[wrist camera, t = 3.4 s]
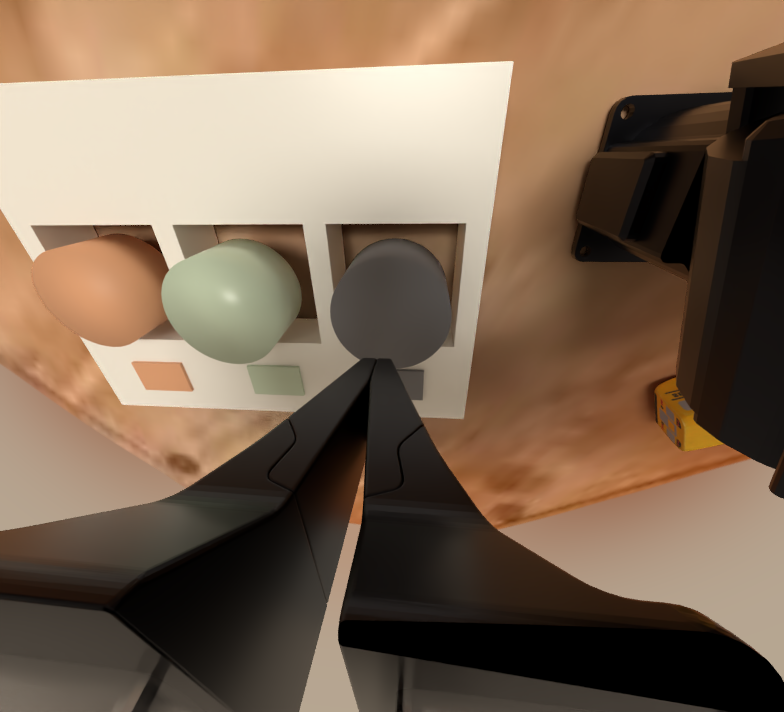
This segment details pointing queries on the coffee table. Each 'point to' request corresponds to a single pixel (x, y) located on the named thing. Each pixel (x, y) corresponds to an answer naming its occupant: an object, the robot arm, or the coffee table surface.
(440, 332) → the charcoal button
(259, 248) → the sage button
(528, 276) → the coffee table surface
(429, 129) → the panel
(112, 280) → the rust button
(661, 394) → the toy bus
